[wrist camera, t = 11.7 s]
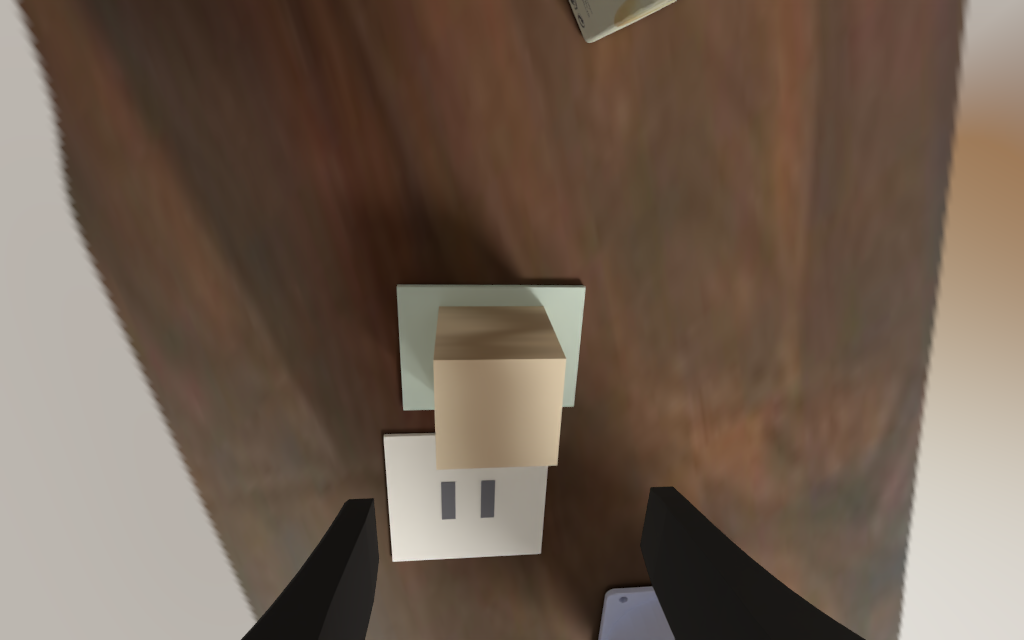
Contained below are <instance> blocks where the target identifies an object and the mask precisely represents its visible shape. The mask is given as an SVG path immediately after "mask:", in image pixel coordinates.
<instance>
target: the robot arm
mask: <svg viewBox="0 0 1024 640" xmlns="http://www.w3.org/2000/svg"><path fill="white" fill-rule="evenodd" d="M640 547H641V550H642V554H643V557H644V561H645V564H646V568H647V571H648V574H649V577H650V581H651V584H652V586H649V587H633V588H616V589H611V590H609V591H608V592H607V593H606V594H605V599H604V606H603V612H602V619H601V625H600V632H599V638H598V640H865V639H864V638H862V637H860V636H859V635H857V634H856V633H854V632H852V631H851V630H849V629H848V628H846V627H845V626H843V625H841V624H840V623H838V622H837V621H835V620H834V619H832V618H831V617H829V616H828V615H826V614H825V613H823V612H822V611H820V610H819V609H817V608H816V607H814V606H813V605H812V604H810V603H809V602H807V601H806V600H805V599H803V598H802V597H801V596H799V595H798V594H796V593H795V592H794V591H792V590H791V589H789V588H788V587H787V586H786V585H784V584H783V583H782V582H780V581H779V580H778V579H776V578H775V577H774V576H773V575H771V574H770V573H769V572H768V571H766V570H765V569H764V568H763V567H762V566H760V565H759V564H758V563H757V562H755V561H754V560H753V559H752V558H751V557H749V556H748V555H747V554H746V553H745V552H744V551H742V550H741V549H740V548H739V547H738V546H737V545H736V544H734V543H733V542H732V541H731V540H730V539H729V538H728V537H727V536H725V535H724V534H723V533H722V532H721V531H720V530H719V529H718V528H717V527H716V526H714V525H713V524H712V523H711V522H710V521H709V520H708V519H707V518H706V517H705V516H704V515H703V514H702V513H701V512H699V511H698V510H697V509H696V508H695V507H694V506H693V505H692V504H691V503H690V502H689V501H688V500H687V499H686V498H685V497H684V496H682V495H681V494H680V493H679V492H678V491H677V490H676V489H675V488H674V487H651V488H650V494H649V499H648V505H647V511H646V516H645V522H644V527H643V533H642V538H641V544H640ZM378 563H379V553H378V541H377V530H376V519H375V507H374V498H372V499H349V500H348V501H347V502H345V503H344V505H343V507H342V508H341V510H340V512H339V513H338V515H337V517H336V518H335V520H334V521H333V523H332V524H331V526H330V528H329V529H328V531H327V532H326V534H325V535H324V537H323V538H322V539H321V541H320V542H319V544H318V545H317V547H316V548H315V549H314V551H313V552H312V554H311V555H310V556H309V558H308V559H307V561H306V562H305V563H304V565H303V566H302V567H301V569H300V570H299V571H298V573H297V574H296V575H295V577H294V578H293V579H292V580H291V582H290V583H289V584H288V585H287V587H286V588H285V589H284V590H283V592H282V593H281V594H280V595H279V597H278V598H277V599H276V600H275V602H274V603H273V604H272V605H271V607H270V608H269V609H268V610H267V611H266V612H265V614H264V615H263V616H262V617H261V618H260V619H259V620H258V622H257V623H256V624H255V625H254V626H253V627H252V628H251V630H250V631H249V632H248V633H247V634H246V635H245V636H244V637H243V638H242V639H241V640H365V637H366V632H367V628H368V624H369V619H370V615H371V611H372V606H373V602H374V595H375V587H376V580H377V572H378Z"/></svg>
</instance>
